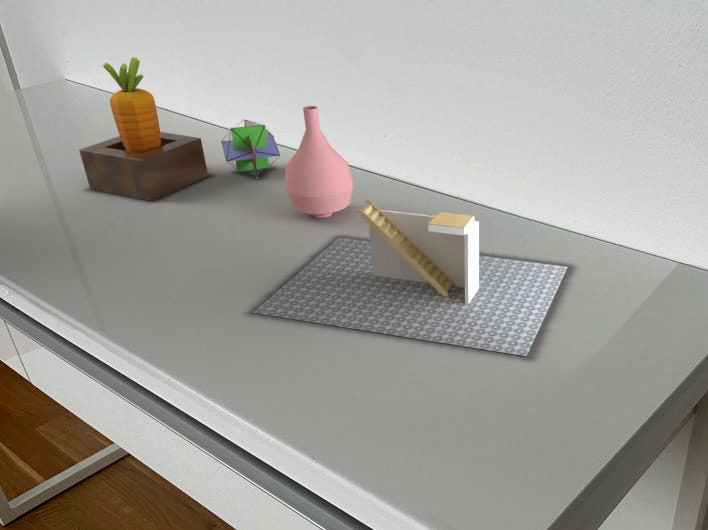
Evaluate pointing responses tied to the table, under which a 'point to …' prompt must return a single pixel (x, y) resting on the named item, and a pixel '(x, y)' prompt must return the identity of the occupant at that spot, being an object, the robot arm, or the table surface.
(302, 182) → the pink vase
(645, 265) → the table surface
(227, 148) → the geometric puzzle
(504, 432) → the table surface
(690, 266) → the table surface
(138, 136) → the carrot
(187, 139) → the hole block
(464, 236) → the model
